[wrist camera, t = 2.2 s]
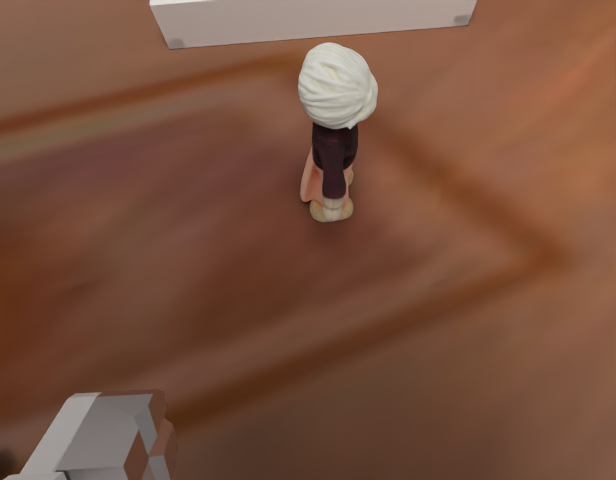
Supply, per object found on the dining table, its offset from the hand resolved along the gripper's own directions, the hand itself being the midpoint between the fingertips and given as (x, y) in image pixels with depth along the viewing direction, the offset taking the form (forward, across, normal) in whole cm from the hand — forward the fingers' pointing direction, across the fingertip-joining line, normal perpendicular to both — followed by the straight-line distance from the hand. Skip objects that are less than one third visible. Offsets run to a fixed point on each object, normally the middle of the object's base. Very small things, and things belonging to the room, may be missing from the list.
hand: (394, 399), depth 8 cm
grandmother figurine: (+22, 0, +4) cm, 23 cm away
